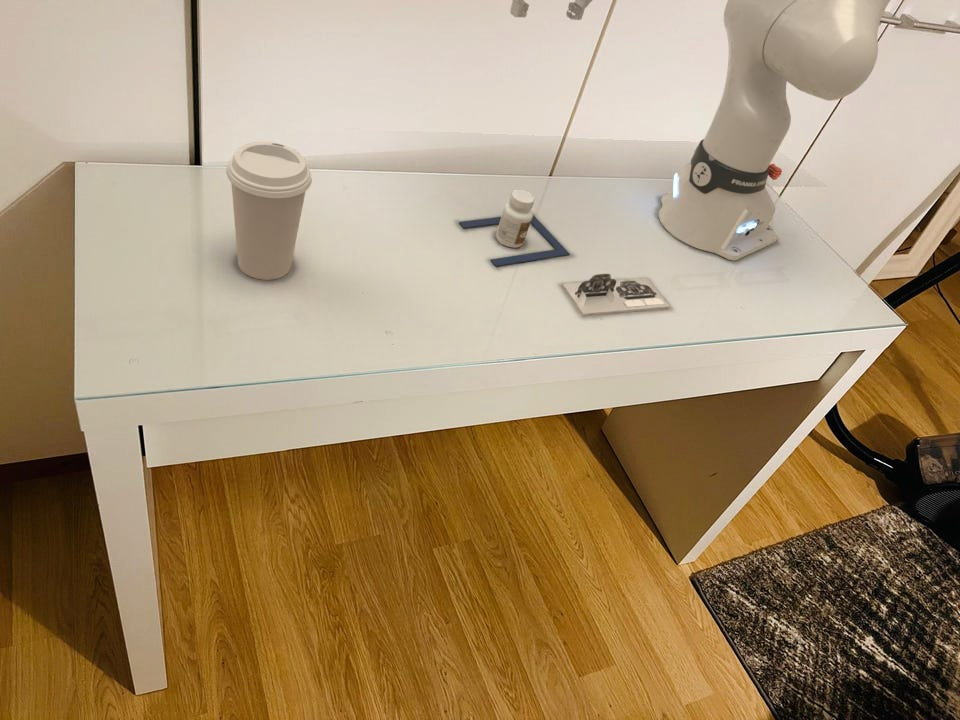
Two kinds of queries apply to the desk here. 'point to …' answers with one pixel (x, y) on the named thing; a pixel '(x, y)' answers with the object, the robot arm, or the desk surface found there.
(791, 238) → the desk surface
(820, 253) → the desk surface
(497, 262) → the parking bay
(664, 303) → the car cutout
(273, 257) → the coffee cup
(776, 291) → the desk surface
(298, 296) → the desk surface
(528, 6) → the robot arm
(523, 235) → the pill bottle
